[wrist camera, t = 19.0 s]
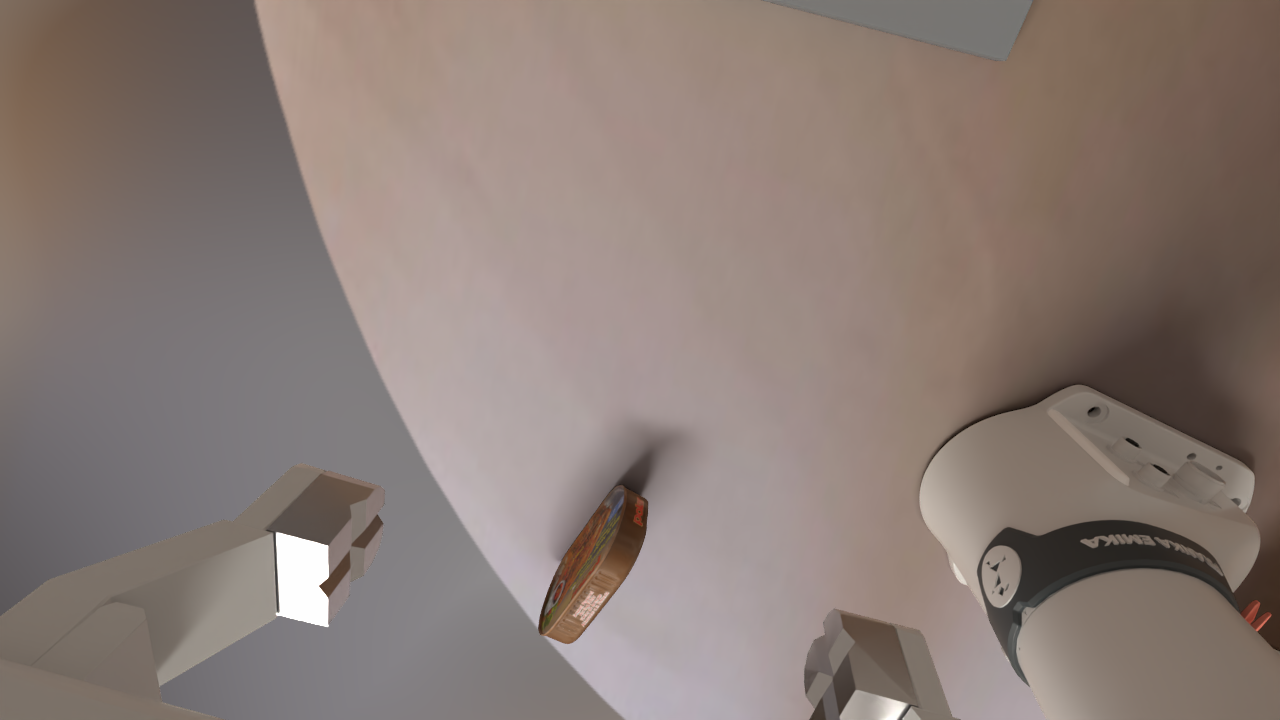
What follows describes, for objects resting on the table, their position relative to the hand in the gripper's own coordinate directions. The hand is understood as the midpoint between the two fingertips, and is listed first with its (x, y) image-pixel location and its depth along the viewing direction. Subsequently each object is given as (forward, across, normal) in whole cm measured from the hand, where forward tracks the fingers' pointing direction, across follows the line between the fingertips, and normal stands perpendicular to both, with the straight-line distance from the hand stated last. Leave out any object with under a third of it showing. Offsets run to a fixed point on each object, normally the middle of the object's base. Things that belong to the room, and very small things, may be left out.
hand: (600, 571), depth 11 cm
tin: (+34, 0, +30) cm, 46 cm away
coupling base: (+34, -6, -19) cm, 39 cm away
